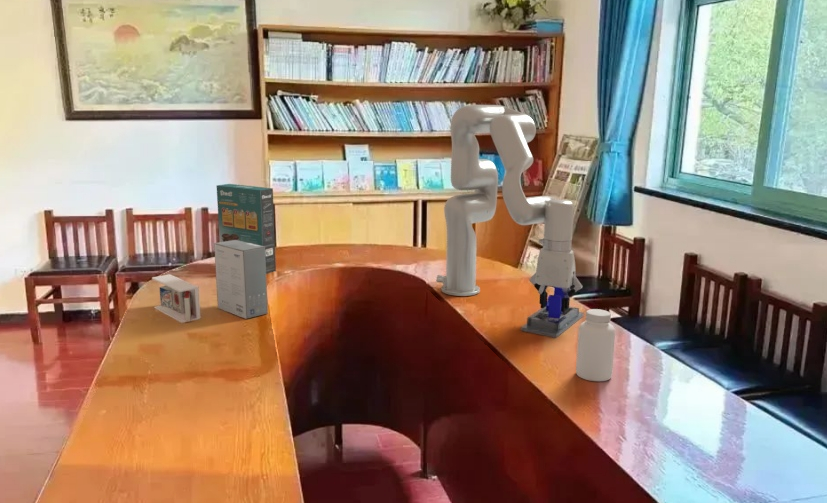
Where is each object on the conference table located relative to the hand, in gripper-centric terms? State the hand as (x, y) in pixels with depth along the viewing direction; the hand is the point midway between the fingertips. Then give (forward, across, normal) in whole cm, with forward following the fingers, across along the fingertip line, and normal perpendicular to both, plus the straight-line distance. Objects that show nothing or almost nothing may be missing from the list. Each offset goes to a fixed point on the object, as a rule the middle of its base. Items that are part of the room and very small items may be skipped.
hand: (554, 308), depth 187 cm
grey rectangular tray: (+4, 0, 0) cm, 4 cm away
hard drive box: (+4, -80, -40) cm, 90 cm away
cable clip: (+1, 0, 0) cm, 1 cm away
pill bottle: (+5, +21, -30) cm, 37 cm away
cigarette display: (+5, -94, -52) cm, 107 cm away
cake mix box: (+4, -116, -3) cm, 116 cm away
